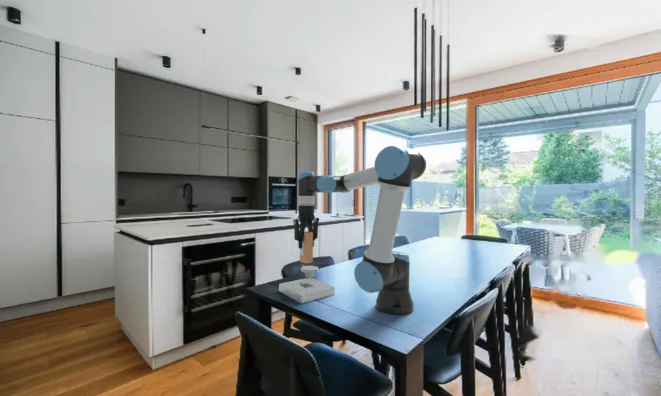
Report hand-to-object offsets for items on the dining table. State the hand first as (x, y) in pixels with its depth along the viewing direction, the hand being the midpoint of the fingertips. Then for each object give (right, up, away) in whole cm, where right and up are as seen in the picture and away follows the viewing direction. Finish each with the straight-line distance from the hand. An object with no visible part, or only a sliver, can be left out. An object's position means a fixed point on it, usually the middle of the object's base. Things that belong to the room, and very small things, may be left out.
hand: (306, 254), depth 140 cm
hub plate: (0, -18, 0) cm, 18 cm away
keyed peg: (0, -3, 0) cm, 3 cm away
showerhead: (0, -18, +22) cm, 28 cm away
